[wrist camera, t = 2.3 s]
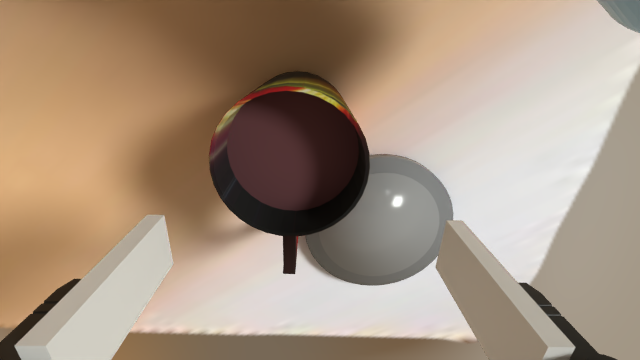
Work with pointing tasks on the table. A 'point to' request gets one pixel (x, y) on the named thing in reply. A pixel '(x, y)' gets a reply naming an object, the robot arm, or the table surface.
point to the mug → (290, 159)
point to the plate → (387, 225)
